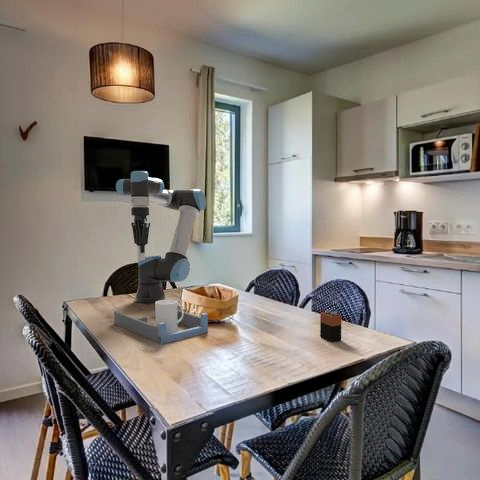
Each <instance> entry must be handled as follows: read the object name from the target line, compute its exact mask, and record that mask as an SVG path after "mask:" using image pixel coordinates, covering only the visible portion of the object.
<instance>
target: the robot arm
mask: <svg viewBox="0 0 480 480" xmlns="http://www.w3.org/2000/svg"><path fill="white" fill-rule="evenodd" d="M115 190H116V192H117V194H118V195H120V196H130V197H131V198H130V203H131V204H130V205H131V209H130V210H131V211H130V212H131V216H132V217H134V218H133V222H131V223H130V225H131V227H132V229H131V230H132V236H133V241H134V244H135V245H136V246H137V247H136V249H137V261H138V264H137V268H138V270H137V272H138V287H137V290H136V293H135V298H134V299H135V302H137V303H140V304H141V303H142V304H151V303H154V304H155V302H156V301H159V300H166V293H165V291H164V288H163V285H162V282H170V283H181V282H182V283H183V281H185V280H186V279H188V276H189V274H190V270H191V268H190V266H191V264H190V261H189V259H188V257H187V251H188V248H189V244H190V240H191V236H192V232H193V228H194V225H195V222H196V217H198V216H200V213H201V211H204V210H206V207H207V200H206V195H205V193H204V191H203V190H202V189H200V188H199V189H198V188H192V189H191V188H190V189H187V188H186V189H166V188H165V184H164V182H163V180H162V179H160V178H157V177H149V173H148V171H145V170H134V171H131V173H130V178H122V179H119V180H117V181H116V184H115ZM150 202H152V203H156V204H158V205H159V206H160V207H163V208H167V209H170V210H174V211H178V212H179V216H178V221H177V224H176V226H175V227H176V228H175V230H174V233H173V236H172V237H173V238H172V242H171V245H170V248H169V251H167V252H166V253H165V256H164V258H163V257H162V255H161V254H158V255H150V256H149V255H148V256H145V255H146V253H145V249H146V245H148V243H149V236H150V235H149V234H150V233H149V232H150V226H151V222H148V218H147V216H150V208H149V206H150Z"/></svg>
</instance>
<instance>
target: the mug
mask: <svg viewBox="0 0 480 480" xmlns="http://www.w3.org/2000/svg"><path fill="white" fill-rule="evenodd" d="M154 304H155V305H154V308H155V309H154V310H155V326H157V327H158V323H161V322H164V323H166V334H170V333H174V332H178V331H179V328H178V325H179V322H180V321H181V320H182V318H183V316H184V312H185V310H184V307H183V305H181V303H178V301H177V300H176V299H165V300H159V301H156V302H155V303H154ZM178 307H180V309H181V311H182V316H181V318H180V319H179V320H178V319H177V310H178Z"/></svg>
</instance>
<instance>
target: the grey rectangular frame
mask: <svg viewBox="0 0 480 480" xmlns="http://www.w3.org/2000/svg"><path fill="white" fill-rule="evenodd" d="M181 316H182V310H180V309H177V319H178V320H179V319H180V318H181ZM113 317H114V318H113V321H114V322H113V324H115V325H117V326H118V327H121V328H123V329H126V330H128V331H131V332H132V333H135V334H137V335H139V336H141V337H144V338H146V339H148V340H150V341H152V342H155V343H157V344H159V343H158V327H157V326H156V325H154V324H151V323H149V322H148V317H147V316H144V317H138V318H136V317H133V316H131V315H128V314H126V313H123V312H121V311H118V310H116V311H113ZM178 325H181V326H185V327H189V329H190V328H194V327H198V326H201V316H199V315H196V314H193V313H189V312H186V311H184V316H183V318H182V320H181V321H180V322H179V323H178Z"/></svg>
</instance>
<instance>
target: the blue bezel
mask: <svg viewBox="0 0 480 480" xmlns="http://www.w3.org/2000/svg"><path fill="white" fill-rule="evenodd" d="M208 316H209V314H208V313H206V312H203V313H200V317H201V326H198V327H194V328H190V327H189V328H188V329H187V328H186V329H183V330H178V332H174V333H170V334H166V323H164V322H161V323H158V343H157V344H159V345H164V344H167V343H171V342H175V341H178V340H179V341H180V340H184V339H186V338H190V337H195V336H199V335H201V334H205V333H208V332H209V323H208V322H209V317H208Z"/></svg>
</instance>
